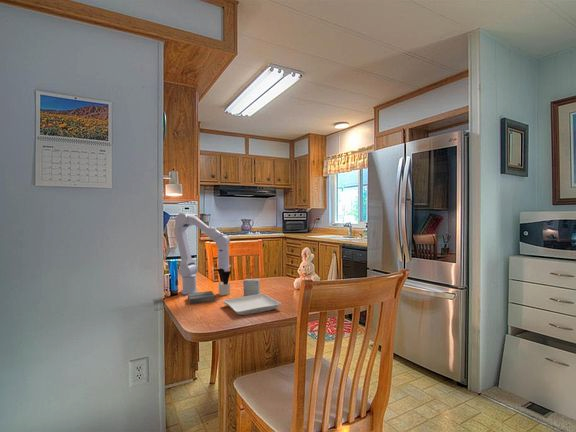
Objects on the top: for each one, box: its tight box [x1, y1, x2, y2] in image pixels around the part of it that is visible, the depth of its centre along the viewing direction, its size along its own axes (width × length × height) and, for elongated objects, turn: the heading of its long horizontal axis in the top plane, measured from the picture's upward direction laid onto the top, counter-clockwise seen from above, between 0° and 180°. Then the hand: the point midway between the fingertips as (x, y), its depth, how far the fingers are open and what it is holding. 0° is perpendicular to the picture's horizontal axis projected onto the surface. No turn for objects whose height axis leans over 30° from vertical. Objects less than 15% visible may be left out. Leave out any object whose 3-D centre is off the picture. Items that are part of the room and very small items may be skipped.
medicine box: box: [242, 278, 261, 297], centre depth 167 cm, size 8×4×9 cm, turn 84°
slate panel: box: [187, 290, 217, 305], centre depth 162 cm, size 12×12×3 cm
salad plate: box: [222, 293, 282, 316], centre depth 147 cm, size 21×21×3 cm
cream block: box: [218, 281, 231, 296], centre depth 174 cm, size 5×5×6 cm
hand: (224, 282), depth 174 cm, fingers open, 7 cm apart
